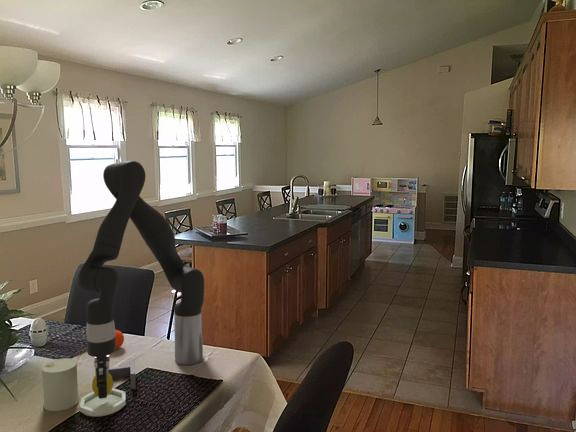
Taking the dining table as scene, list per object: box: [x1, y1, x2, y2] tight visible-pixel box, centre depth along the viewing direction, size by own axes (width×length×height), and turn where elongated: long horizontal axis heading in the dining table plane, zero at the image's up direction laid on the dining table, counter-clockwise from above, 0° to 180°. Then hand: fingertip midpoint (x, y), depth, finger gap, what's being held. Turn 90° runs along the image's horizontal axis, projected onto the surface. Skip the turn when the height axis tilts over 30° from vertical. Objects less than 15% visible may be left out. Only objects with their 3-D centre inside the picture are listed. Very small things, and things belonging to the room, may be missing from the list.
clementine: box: [115, 329, 125, 350], centre depth 173 cm, size 8×7×7 cm
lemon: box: [91, 374, 114, 396], centre depth 134 cm, size 6×6×8 cm
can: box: [41, 357, 80, 412], centre depth 135 cm, size 9×9×12 cm
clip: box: [109, 358, 137, 390], centre depth 147 cm, size 10×11×5 cm
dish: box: [79, 387, 126, 418], centre depth 135 cm, size 12×12×2 cm
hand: (103, 392), depth 134 cm, fingers closed on lemon, 5 cm apart
